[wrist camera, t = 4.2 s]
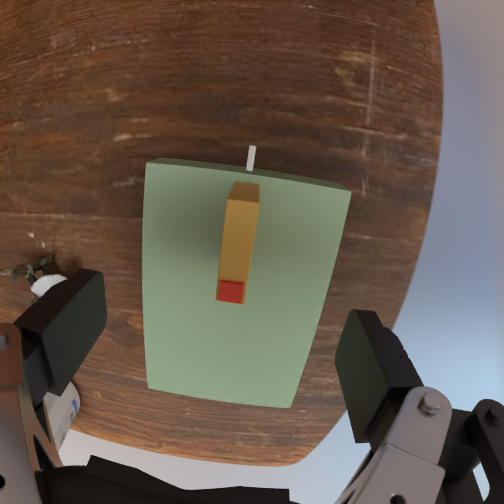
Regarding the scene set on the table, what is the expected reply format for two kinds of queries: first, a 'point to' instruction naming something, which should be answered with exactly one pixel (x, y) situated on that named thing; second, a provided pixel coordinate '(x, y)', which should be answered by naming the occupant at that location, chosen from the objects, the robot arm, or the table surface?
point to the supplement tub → (62, 412)
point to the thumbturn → (237, 242)
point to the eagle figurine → (29, 271)
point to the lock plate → (258, 287)
